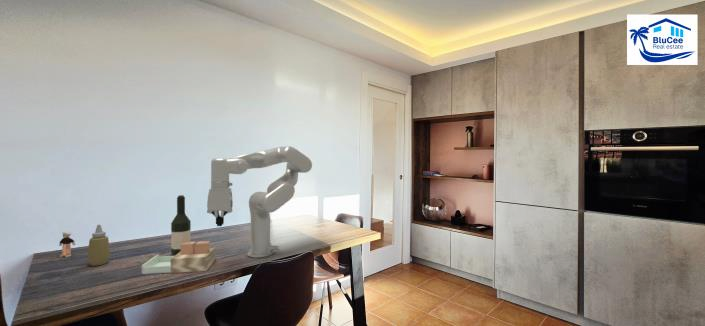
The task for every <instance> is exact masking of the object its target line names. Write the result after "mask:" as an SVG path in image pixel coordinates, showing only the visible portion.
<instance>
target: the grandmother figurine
mask: <svg viewBox="0 0 705 326" xmlns="http://www.w3.org/2000/svg"><path fill="white" fill-rule="evenodd" d="M72 234H73V233H72V232H71V231H69V230H64V231H62V237H63V238H61V239H60V240H59V244H58V246H59V247H62V249H61V250H62V251H61V255H59V258H64V257H65V258H68V257H71V256H73V255H72V247H71V244H72V246H75V245H76V241H75V240H74V239H73V238H71V237H70V236H71V235H72Z"/></svg>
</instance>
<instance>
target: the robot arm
mask: <svg viewBox="0 0 705 326" xmlns="http://www.w3.org/2000/svg"><path fill="white" fill-rule="evenodd" d="M281 163H282V164H283V163H286V166H285V167H286V169H285V173H284V174H282V176H280V177H279V178H277V179H276V180H274V181H273V182H271V183H270V184H269V185H268V187H267V189H266V191H256V192H253V193H252V194H251V195H250V196H249V198H248V207H249V213H250V250H248V251H247V254H246V255H247V256H248V257H250V258H257V259H258V258H267V257H269V256H271V255H273V254H274V251H280V245H272V243H271V216H270V213H274V212H276V211H277V210H279V209H280V208H281V207H283V206H284V205H286V203H288V202H289V201H291V200H292V199H293V197H294V194H295V192H296V191H295V186H296V184H298V179H299V173H300V174H301V173H303V174H304V173H306V174H307V173H308V172H310V171H311V170H312V168H313V163H312V160H311V159H310V158H309V157H308V156H307V155H305V154H304V153H303V152H301V151H299V150H298V149H296V148H295V147H294V146H288V145H287V146H278V147H274V148H270V149H266V150H261V151H256V152H252V153H248V154H242V155H238V156H235V157H234V156H233V157H229V158H213V159H212V160H211V161H210V167H211V169H210V172H211V173H210V188H209V190H208V194H207V203H206V207H207V211H206V213H207V214H211V215H213V216H214V218H215V225H216V227H222V226H223V225H224V224H225V223H224V222H225V220H224V219H225V218H224V217H225V216H226V215H227V214H230V213H232V212H233V206H234V205H233V191H232V188H231V187H232V186H233V182H230V175H231V174H232V175H242V174H245V173H246V172H247V171H248V170H250V169H263V168H264V169H265V168H268V167H271V166H274V165H278V164H281ZM219 211H220V212H219Z"/></svg>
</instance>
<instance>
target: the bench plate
mask: <svg viewBox="0 0 705 326" xmlns="http://www.w3.org/2000/svg"><path fill="white" fill-rule="evenodd" d="M216 248H217V247H215V246H213V247H210V251H209V252H208V253H207V254H195V253H194V254H187V255H181V251H180V252H179V253H178V254H176V255H175V256H174V257H172V258H171V273H170V274H177V273H178V274H179V273H191V272H207V271H208V269H209V268H210V267H211V266H212V265H213V264H214V262H215V261H216V258H217V257H216V252H217V251H216Z"/></svg>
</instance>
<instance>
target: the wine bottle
mask: <svg viewBox="0 0 705 326" xmlns="http://www.w3.org/2000/svg"><path fill="white" fill-rule="evenodd" d="M184 195H185V194H182V195H178V196H177V197H176V215H175V216H174V218H173V220H172V221H171V223H170V227H171V228H170V230H171V232H170V233H171V234H170V238H171V239H170V240H171V243H170V246H171V247H170V249H171V250H170V251H171V252H170V256H175V255H176V254H178V253H179V252H180V251H181V244H182V243H184V242H192V241H191V235H192V234H191V233H192V232H191V226H192V223H191V219H189V217H188V215H187V214H186V197H185V196H184Z"/></svg>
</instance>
